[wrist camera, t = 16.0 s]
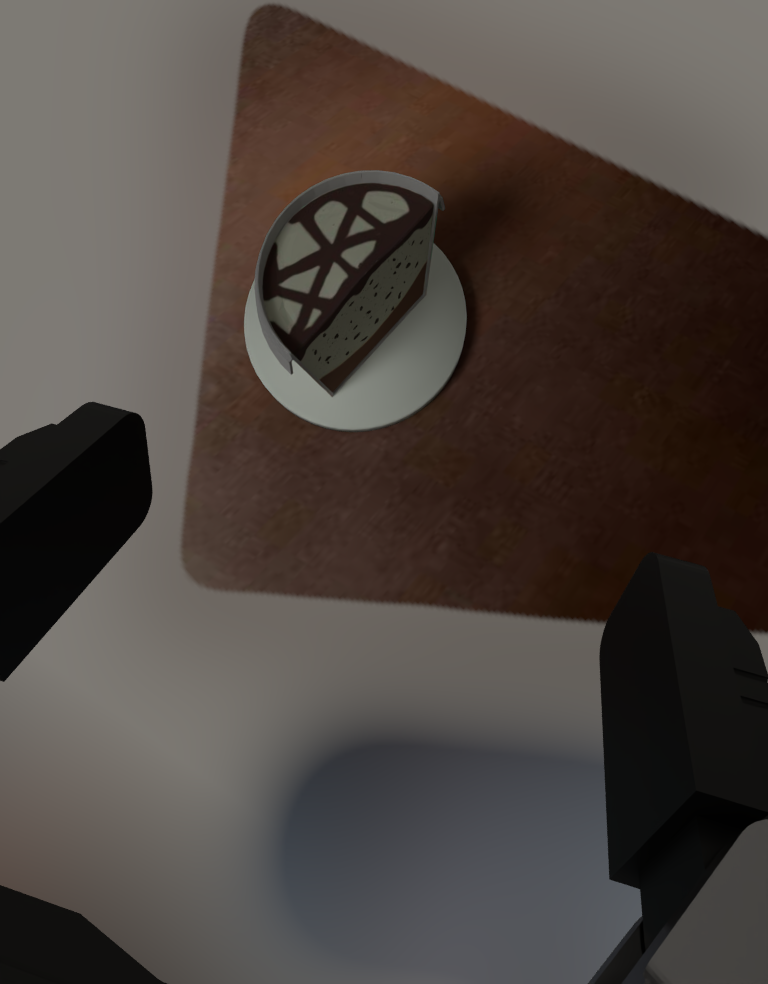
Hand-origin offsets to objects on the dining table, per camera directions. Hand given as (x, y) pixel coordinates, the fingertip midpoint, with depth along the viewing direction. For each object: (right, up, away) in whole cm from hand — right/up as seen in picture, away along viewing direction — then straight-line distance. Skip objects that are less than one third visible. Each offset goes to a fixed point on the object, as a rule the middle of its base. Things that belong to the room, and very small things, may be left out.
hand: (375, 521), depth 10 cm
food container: (-2, +12, +32) cm, 34 cm away
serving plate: (-2, +12, +33) cm, 35 cm away
